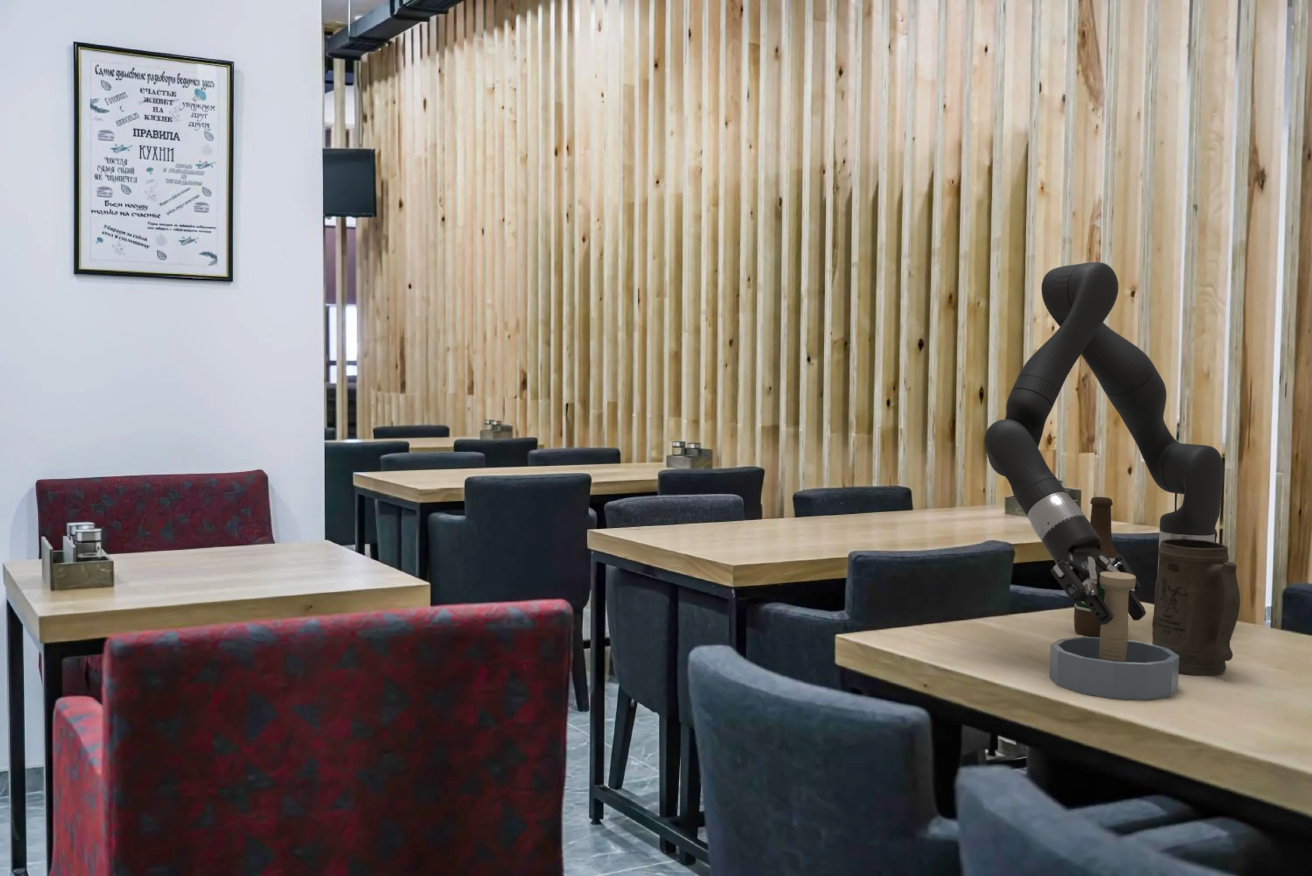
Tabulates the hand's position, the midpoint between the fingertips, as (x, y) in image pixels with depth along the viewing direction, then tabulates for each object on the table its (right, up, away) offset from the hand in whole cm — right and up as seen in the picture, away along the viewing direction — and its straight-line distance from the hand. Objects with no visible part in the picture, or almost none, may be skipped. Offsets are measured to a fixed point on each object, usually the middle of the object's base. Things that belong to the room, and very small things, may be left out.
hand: (1124, 619), depth 172 cm
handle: (-1, -9, +2) cm, 9 cm away
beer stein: (+16, -10, +11) cm, 22 cm away
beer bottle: (+9, -8, +37) cm, 39 cm away
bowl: (-1, -10, +2) cm, 10 cm away
